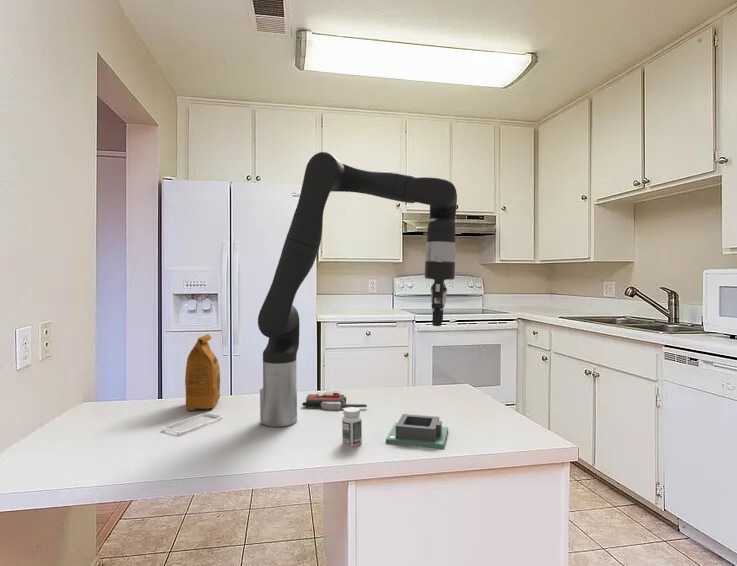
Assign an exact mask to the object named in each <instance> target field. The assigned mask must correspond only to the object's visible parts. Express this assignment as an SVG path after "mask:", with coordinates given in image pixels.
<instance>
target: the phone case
mask: <svg viewBox="0 0 737 566" xmlns="http://www.w3.org/2000/svg"><path fill="white" fill-rule="evenodd" d="M202 417H211V418H214V419H211V420H209V421H206V422H203V423H201V424H198V425H195V426H193V427H190V428H187V429H186V430H182V431H179V430H177V431H176V430H172V429H173V428H176V427H178V426H181V425H183V424H184V425H185V424H186V423H189V422H192V421H194V420H197V419H200V418H202ZM222 420H224V416H223V415H220V414H215V413H211V412H203V413H200V414H198V415H197V414H196V415H195V416H191V417H189V418H187V419H183V420H181V421H178V422H175V423H173V424H170V425H167V426H164V427H162V430H161V431H162V433H166V431H167V432H170V433H171V432H172V433H175V434H176V435H177V436H184V435H186V434H189V433H192V432H194V431H197V430H200V429H202V428H205V427H207V426H209V424H210V423H213V422H216V421H219V422H220V421H222Z"/></svg>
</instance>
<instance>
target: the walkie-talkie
mask: <svg viewBox="0 0 737 566" xmlns="http://www.w3.org/2000/svg"><path fill="white" fill-rule="evenodd" d="M302 406H303V407H306V408H307V407H315V408H314V409H322V408H323V410H326V409H327V410H328V411H331V410H332V411H340V410H341V409H345V408H347V407H357V408H367V406H368V405H367V404H359V403H353V404H350V403H347V397H346V396H345V395H344V394H341V392H340V391H337V390H335V391H333V390H332V391H331V390H327V391H325V392H323V393H320V392H319V391H317V392H316V394H315V393H313V394H311V393H310V394H308V395H307V396H306V399H305V402H302ZM319 407H320V408H319Z"/></svg>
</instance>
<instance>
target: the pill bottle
mask: <svg viewBox="0 0 737 566" xmlns="http://www.w3.org/2000/svg"><path fill="white" fill-rule="evenodd" d="M342 414H343V416H342V419H341V421H342V422H341V423H342V424H341V426H342V431H341V432H342V433H341V435H342V437H341V438H342V444H343V446H345V447H357V446H360V445H361V444H362V442H363V437H362V435H363V433H362V432H363V430H362V421H363V420H362V416H361V409H360V407H347V408H343V413H342Z"/></svg>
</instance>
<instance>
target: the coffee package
mask: <svg viewBox="0 0 737 566" xmlns="http://www.w3.org/2000/svg"><path fill="white" fill-rule="evenodd" d="M211 339H212V336H211V335H210V333H207V334H205V335H204V334H203V336H200V337H198V338H197V341H196V343H195V344H194V346H193V347H192V349H191V350H190V352H189V354H188V356H187V358H186V359H187V360H186V366H185V377H184V384H185V386H184V387H185V411H187V412H188V411H189V412H191V411H198V410H208V409H213V408H214V407H215V406H216V404H217V403H218V402H219V400H220V398H221V391H220V390H221V389H220V388H221V369H220V368H221V367H220V363H219V360H218V358H217V356H216V355H215V354H214V352H213V351H212V350H211V347H210V343H209V341H210V340H211Z"/></svg>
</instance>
